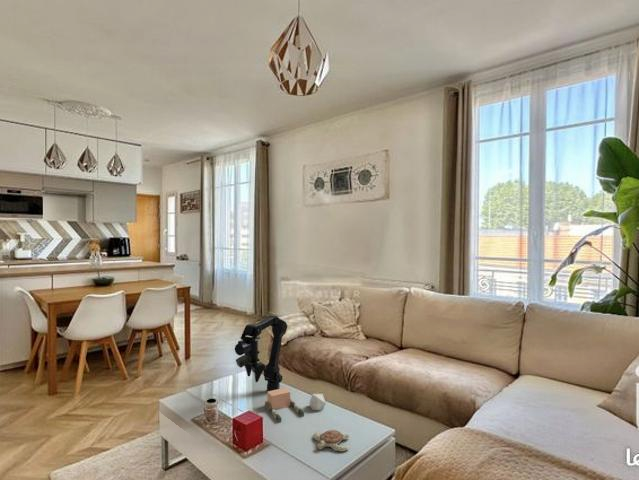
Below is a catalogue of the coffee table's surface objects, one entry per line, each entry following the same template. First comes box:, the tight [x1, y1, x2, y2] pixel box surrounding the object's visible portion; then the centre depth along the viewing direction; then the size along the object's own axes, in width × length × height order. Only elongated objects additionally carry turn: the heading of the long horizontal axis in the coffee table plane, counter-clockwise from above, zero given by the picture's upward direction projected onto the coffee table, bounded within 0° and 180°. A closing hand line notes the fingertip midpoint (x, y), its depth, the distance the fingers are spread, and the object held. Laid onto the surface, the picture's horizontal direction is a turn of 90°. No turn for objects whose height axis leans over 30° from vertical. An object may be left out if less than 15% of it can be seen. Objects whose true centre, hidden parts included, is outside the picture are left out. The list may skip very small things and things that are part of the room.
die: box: [308, 393, 327, 411], centre depth 186 cm, size 8×9×10 cm
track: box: [264, 398, 305, 424], centre depth 182 cm, size 19×13×4 cm
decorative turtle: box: [312, 429, 350, 452], centre depth 157 cm, size 18×17×5 cm
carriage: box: [266, 387, 291, 411], centre depth 188 cm, size 6×10×7 cm, turn 119°
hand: (252, 379), depth 191 cm, fingers open, 9 cm apart
